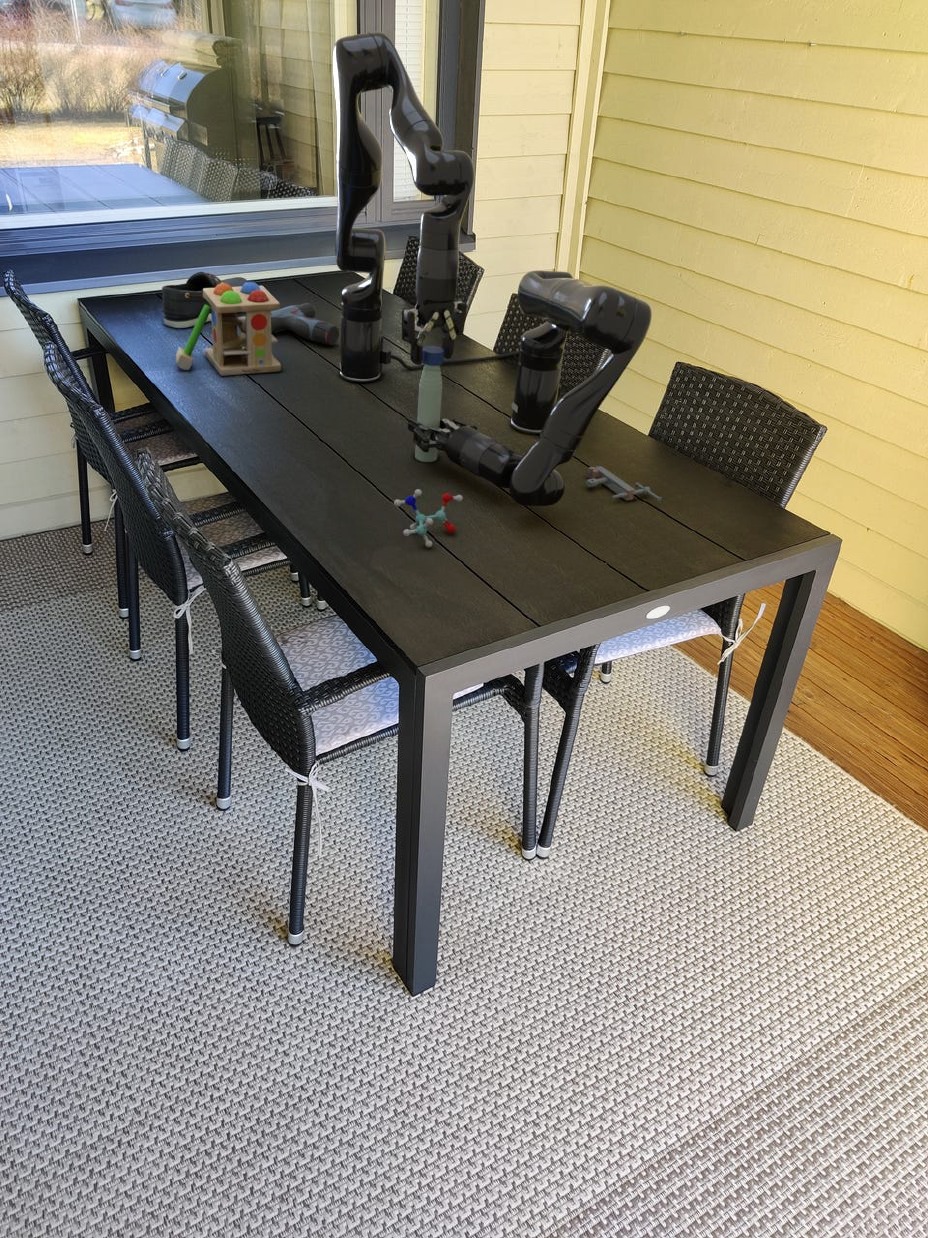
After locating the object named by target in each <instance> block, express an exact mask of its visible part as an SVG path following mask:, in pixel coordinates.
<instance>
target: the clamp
mask: <svg viewBox="0 0 928 1238" xmlns="http://www.w3.org/2000/svg"><path fill="white" fill-rule="evenodd" d="M587 478H588V479H586V482H585V485H586V486H587V487H589V488H593V487H598V486H599V485H601V484H603V485H604V486H606V487H607V488H608V489H609V490H611V491H613V492H614V493H615V494H614V495H612V496H611V497H612V499H621V498H622V499H623V500H625V501H632V500H633V499H634V496H636V495H639V494H642V495H646V494H649V495H650V496H651V497H653V498H654V499H656V500H657V502H659V503H660V502H661V501H662V500H663V498H662V496H658V495H657V494H655V493H654V492H652V491H651V488H650V486H644V485H642V484H641V483H640V482H639V481H638V482H637V481H636V483H635V484H634V485H635V488H639V489H635V488H633V487H632V486H631V485H629V484H628V483H626V482H625V481H623V480H622V479H620V478H619V477H618V476H617V475H615V474H614V473H613V472H611V471H609V470H608V469H606V468H605V467H603V466H602V465H599V466H595V467H594V466H590V467H588V470H587Z"/></svg>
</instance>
